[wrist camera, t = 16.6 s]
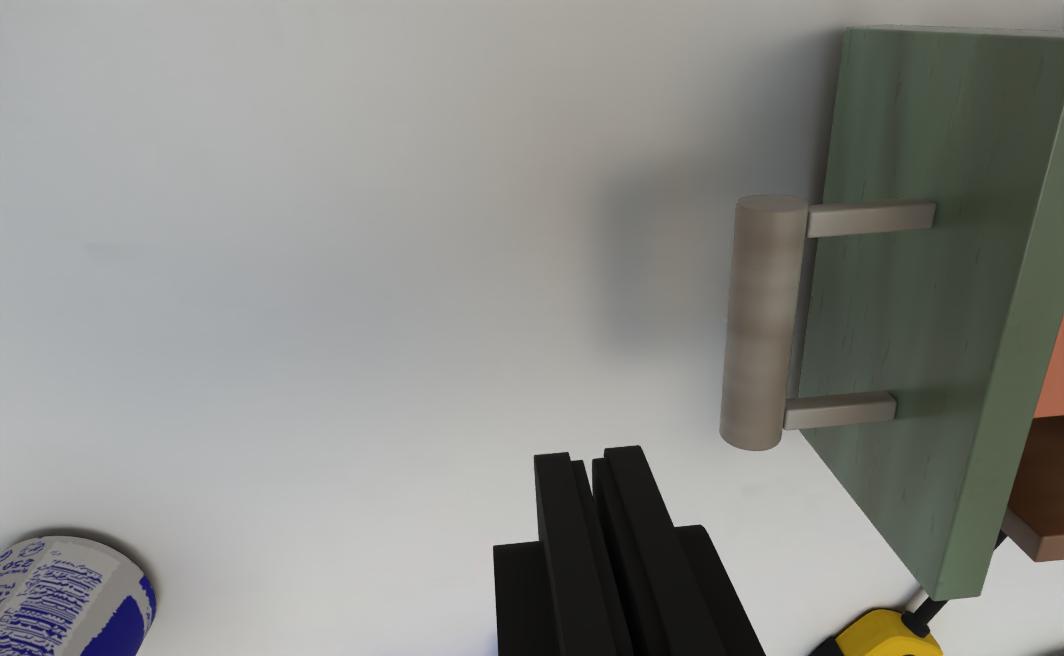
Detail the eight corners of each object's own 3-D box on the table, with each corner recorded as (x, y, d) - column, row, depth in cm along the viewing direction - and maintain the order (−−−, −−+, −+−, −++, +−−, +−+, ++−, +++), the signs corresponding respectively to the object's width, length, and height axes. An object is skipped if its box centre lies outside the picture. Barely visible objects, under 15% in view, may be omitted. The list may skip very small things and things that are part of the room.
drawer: (666, 435, 23) (753, 621, 16) (681, 36, 18) (818, 54, 11) (1169, 390, 24) (1458, 547, 17) (1321, -2, 19) (1825, -9, 12)
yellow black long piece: (755, 775, 30) (985, 520, 25) (739, 733, 32) (951, 486, 26) (843, 797, 31) (1080, 558, 26) (823, 754, 33) (1041, 522, 28)
